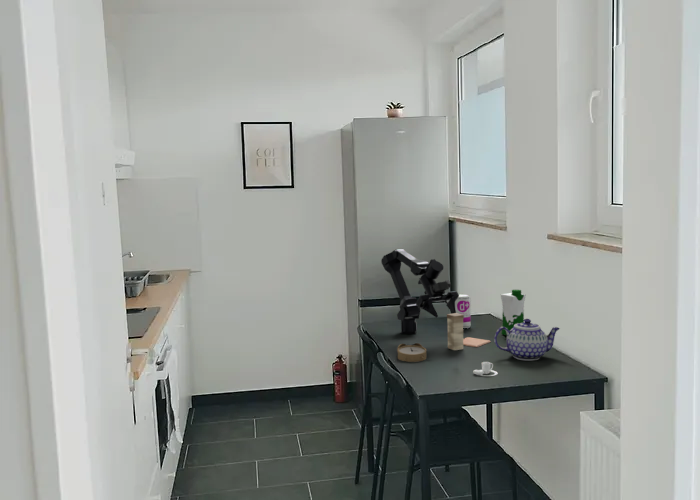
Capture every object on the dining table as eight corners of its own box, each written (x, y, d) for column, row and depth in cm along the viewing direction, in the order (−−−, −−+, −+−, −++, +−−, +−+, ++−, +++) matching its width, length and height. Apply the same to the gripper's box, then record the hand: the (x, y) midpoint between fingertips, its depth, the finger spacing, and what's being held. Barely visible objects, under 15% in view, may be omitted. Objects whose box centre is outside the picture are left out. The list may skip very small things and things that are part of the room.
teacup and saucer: (474, 377, 231) (474, 366, 231) (471, 371, 239) (471, 360, 239) (499, 377, 231) (499, 365, 230) (495, 370, 239) (495, 359, 238)
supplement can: (472, 329, 305) (471, 296, 304) (454, 329, 305) (453, 297, 304) (469, 325, 313) (469, 293, 312) (451, 325, 313) (451, 294, 312)
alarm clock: (399, 355, 251) (394, 339, 265) (399, 367, 252) (394, 351, 267) (429, 354, 252) (422, 338, 266) (428, 366, 253) (422, 349, 267)
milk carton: (513, 337, 286) (513, 292, 284) (498, 334, 293) (498, 289, 291) (527, 335, 290) (527, 289, 288) (512, 331, 298) (512, 287, 296)
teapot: (497, 363, 247) (497, 323, 246) (490, 352, 262) (490, 315, 261) (565, 362, 246) (566, 322, 245) (554, 351, 262) (554, 314, 260)
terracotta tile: (453, 343, 279) (453, 342, 279) (468, 338, 287) (468, 337, 287) (476, 347, 271) (476, 345, 271) (490, 342, 279) (490, 340, 279)
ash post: (447, 348, 271) (446, 314, 270) (456, 346, 273) (456, 313, 272) (454, 350, 267) (454, 316, 266) (463, 348, 269) (463, 314, 268)
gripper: (419, 276, 273) (435, 306, 264) (456, 272, 282) (472, 301, 273) (409, 292, 281) (424, 322, 272) (445, 288, 289) (461, 317, 281)
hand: (446, 315), depth 274 cm, fingers open, 9 cm apart
